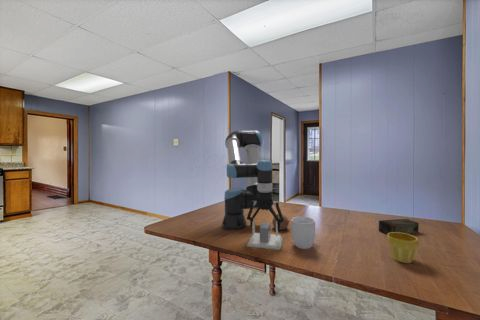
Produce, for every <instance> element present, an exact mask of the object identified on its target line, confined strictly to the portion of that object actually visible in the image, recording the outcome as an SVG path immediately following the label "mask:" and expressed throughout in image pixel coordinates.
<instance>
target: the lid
mask: <svg viewBox="0 0 480 320" xmlns="http://www.w3.org/2000/svg"><path fill="white" fill-rule="evenodd" d="M252 235H253V234H252ZM252 235H251V237H252V238H251V237H250V239H251V240H250V239H249V241H250V242H249V241H248V242H249V246H257V247H266V248H276V249H278V246H279V242H280V238H281V237H282V236H281V234H278V236H276V233H275V234H274V233H272V234H271V222H267V221H266V222H265V221H262V223H260V226H259V232H255V233H254V235H253V236H252ZM266 248H265V249H266ZM276 249H275V250H276Z"/></svg>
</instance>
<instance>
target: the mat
mask: <svg viewBox="0 0 480 320" xmlns="http://www.w3.org/2000/svg"><path fill="white" fill-rule="evenodd" d="M253 235H254V234H253V233H252V235H251V236H250V239H249V240H248V242H247V243H246V247H247V248H258V249H266V250H267V249H269V250H276V251H278V250H279V251H281V246H282V242H283V236H281V238H280V242H279V246H278V249H276V248H266V247H257V246H249V242H250V240H251V238H252V236H253Z"/></svg>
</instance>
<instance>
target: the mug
mask: <svg viewBox="0 0 480 320" xmlns="http://www.w3.org/2000/svg"><path fill="white" fill-rule="evenodd" d="M290 223H291V224H290V225H291V226H290V229H291V230H290V231H291V232H290V233H291V238H292V241H293V244H294V245H295V247H296V248H298V249H300V250H301V249H302V250H309V249H311V247H312V246H313V244H314V241H315V237H316V220H315V218H313V217H310V216H294V217H292V218H291V221H290Z"/></svg>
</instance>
